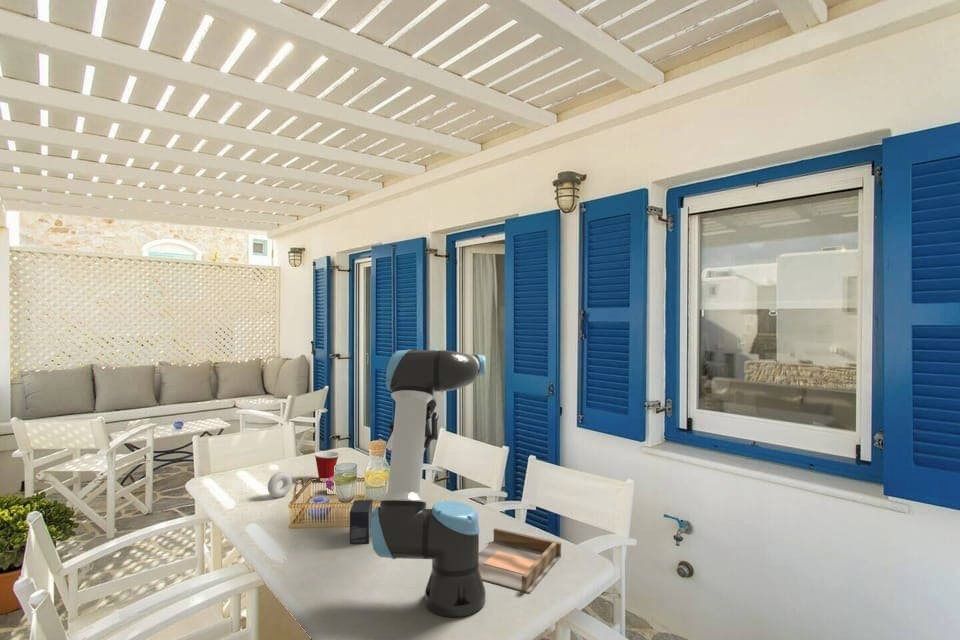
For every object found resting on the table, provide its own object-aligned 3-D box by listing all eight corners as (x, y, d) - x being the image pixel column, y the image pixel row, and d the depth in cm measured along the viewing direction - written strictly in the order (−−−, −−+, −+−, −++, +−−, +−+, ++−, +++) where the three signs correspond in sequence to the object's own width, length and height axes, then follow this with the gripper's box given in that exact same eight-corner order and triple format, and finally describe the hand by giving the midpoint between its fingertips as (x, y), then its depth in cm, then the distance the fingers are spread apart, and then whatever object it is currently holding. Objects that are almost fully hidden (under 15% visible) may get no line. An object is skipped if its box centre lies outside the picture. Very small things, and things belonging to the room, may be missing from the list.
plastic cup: (339, 483, 217) (340, 455, 217) (313, 485, 214) (313, 457, 214) (339, 475, 228) (339, 449, 228) (314, 477, 225) (314, 450, 225)
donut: (288, 492, 204) (289, 468, 204) (293, 494, 202) (293, 469, 202) (265, 499, 196) (265, 474, 196) (270, 501, 194) (270, 475, 194)
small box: (353, 531, 167) (353, 499, 167) (373, 530, 167) (373, 498, 167) (348, 545, 156) (348, 511, 156) (369, 544, 157) (369, 510, 157)
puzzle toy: (326, 494, 202) (326, 480, 202) (330, 490, 208) (331, 476, 208) (339, 495, 202) (340, 481, 202) (344, 490, 208) (344, 476, 208)
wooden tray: (529, 593, 128) (529, 578, 128) (456, 572, 139) (456, 558, 139) (561, 556, 149) (561, 542, 149) (495, 540, 160) (495, 528, 160)
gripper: (460, 409, 181) (437, 464, 170) (405, 400, 193) (380, 450, 182) (452, 399, 176) (427, 454, 165) (396, 390, 188) (370, 441, 177)
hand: (403, 452), depth 173 cm, fingers open, 13 cm apart
